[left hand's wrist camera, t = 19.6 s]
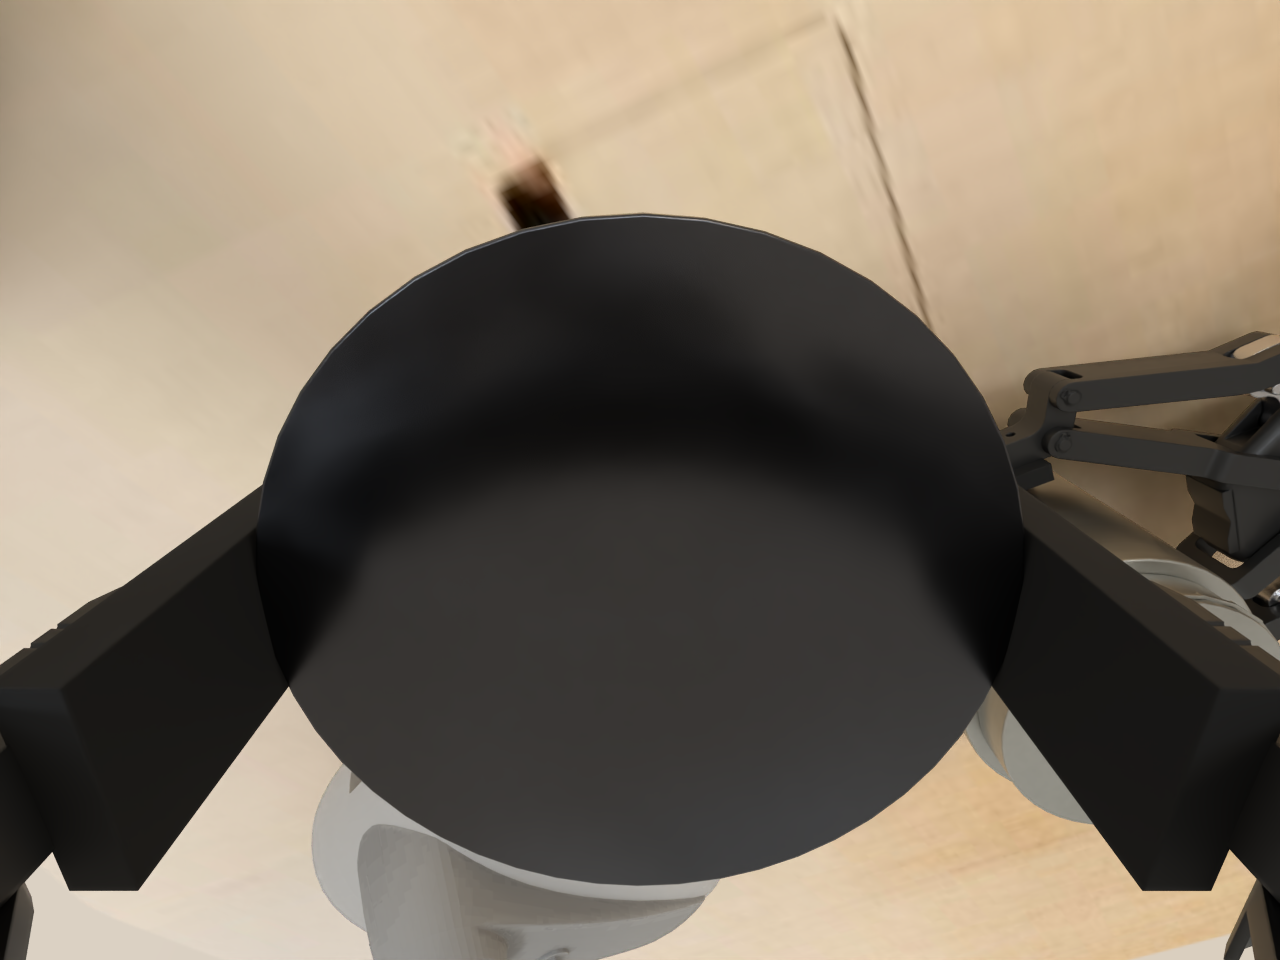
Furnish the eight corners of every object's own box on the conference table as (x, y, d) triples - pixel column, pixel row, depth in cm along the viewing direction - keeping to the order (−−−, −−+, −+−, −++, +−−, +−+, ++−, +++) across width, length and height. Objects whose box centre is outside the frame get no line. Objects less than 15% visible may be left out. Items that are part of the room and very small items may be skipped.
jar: (1084, 526, 36) (1362, 724, 22) (927, 639, 39) (1087, 878, 25) (976, 393, 34) (1215, 524, 20) (814, 524, 36) (925, 721, 22)
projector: (401, 911, 47) (305, 1198, 33) (307, 632, 38) (127, 864, 25) (721, 886, 46) (757, 1169, 33) (697, 597, 38) (731, 816, 24)
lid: (259, 209, 10) (167, 209, 8) (1025, 215, 10) (1117, 217, 8) (367, 792, 14) (323, 885, 12) (908, 796, 14) (951, 889, 12)
